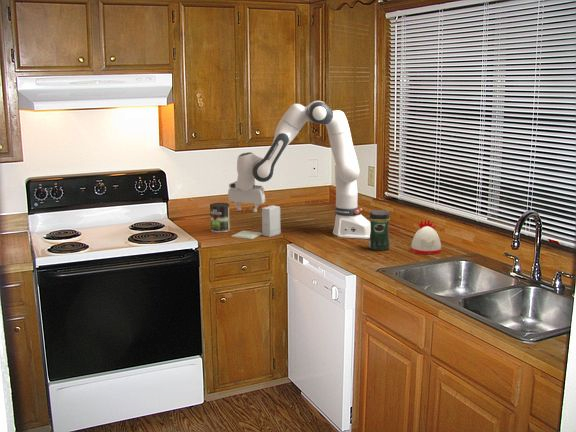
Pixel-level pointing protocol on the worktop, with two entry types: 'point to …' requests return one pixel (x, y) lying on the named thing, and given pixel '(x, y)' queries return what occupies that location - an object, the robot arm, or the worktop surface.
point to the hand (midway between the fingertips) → (246, 211)
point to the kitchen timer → (426, 240)
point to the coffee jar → (379, 230)
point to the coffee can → (219, 217)
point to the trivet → (247, 234)
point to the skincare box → (271, 221)
